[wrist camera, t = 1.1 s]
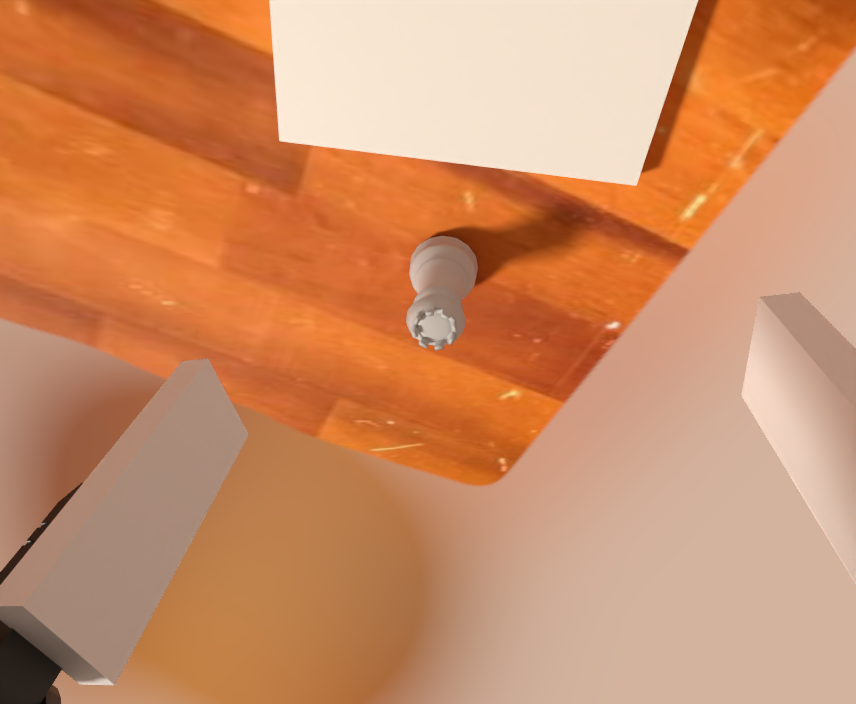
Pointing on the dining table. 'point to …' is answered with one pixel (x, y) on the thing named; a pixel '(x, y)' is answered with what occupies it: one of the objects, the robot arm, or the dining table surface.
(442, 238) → the rook chess piece
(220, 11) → the dining table surface
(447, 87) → the hole board
